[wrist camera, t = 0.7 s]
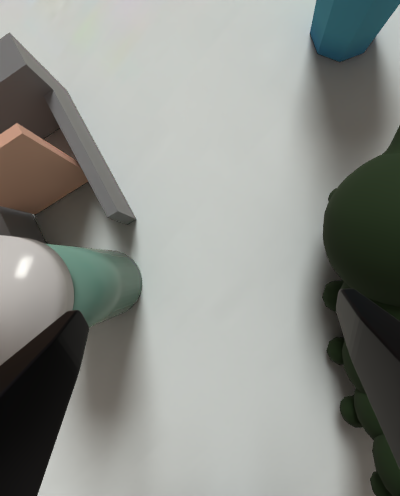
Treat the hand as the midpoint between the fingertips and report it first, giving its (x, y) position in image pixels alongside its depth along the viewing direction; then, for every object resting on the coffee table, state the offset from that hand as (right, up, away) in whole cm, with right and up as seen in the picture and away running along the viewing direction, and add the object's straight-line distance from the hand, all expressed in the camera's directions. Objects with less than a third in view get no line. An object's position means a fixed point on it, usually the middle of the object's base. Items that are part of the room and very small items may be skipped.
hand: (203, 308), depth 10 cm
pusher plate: (-13, +7, +17) cm, 23 cm away
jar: (-8, -1, +16) cm, 18 cm away
